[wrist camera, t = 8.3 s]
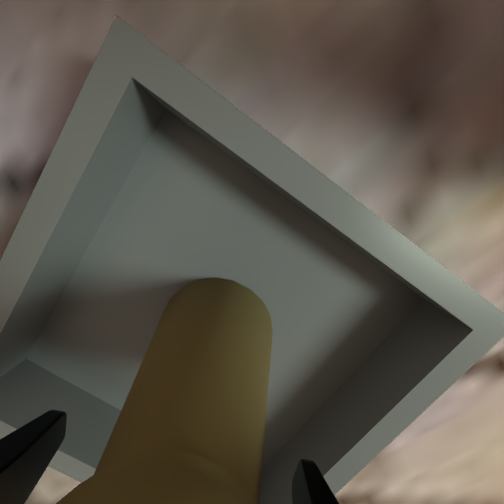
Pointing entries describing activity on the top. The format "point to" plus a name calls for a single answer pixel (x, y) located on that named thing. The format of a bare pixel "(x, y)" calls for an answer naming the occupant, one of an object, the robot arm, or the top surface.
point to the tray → (218, 275)
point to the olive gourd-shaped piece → (192, 406)
